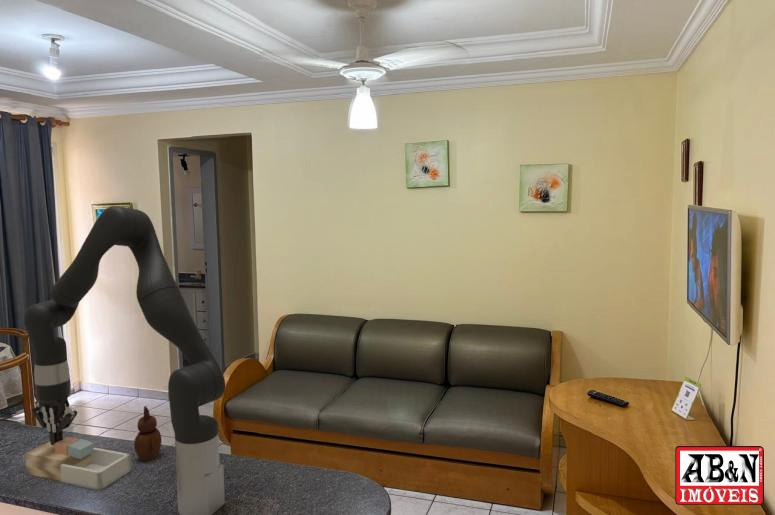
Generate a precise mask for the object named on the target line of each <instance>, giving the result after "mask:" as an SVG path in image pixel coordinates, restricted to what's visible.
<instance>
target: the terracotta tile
mask: <svg viewBox="0 0 775 515" xmlns="http://www.w3.org/2000/svg"><path fill="white" fill-rule="evenodd" d="M80 439H81V438H76V437H75V438H74V437H70V436H67V437H65V438H63V440H61V441H59V442H57V443H55V444H54V448H55V453H57V454H62V455H68V445H70V444H72V443H74V442H76V441H78V440H80Z"/></svg>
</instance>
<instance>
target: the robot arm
mask: <svg viewBox="0 0 775 515" xmlns="http://www.w3.org/2000/svg"><path fill="white" fill-rule="evenodd" d="M114 246H121V247H122V246H123V247H128V248H129V250H130V251H131V253H132V255H133V257H134V259H135V261H136V263H137V268H138V277H137V283H136V293H135V294H136V298H137V303H138V305H139V307H140V309H141V312H142V314H143V316H144V319H145V320H146V322H147V324H148V325H149V326H150V327H151V328H152V329H153V330H155V332H157V333H158V334H159V335H160V336H162V337H163V338H165V339H167V341H169V342H170V343H172V344H173V345H174V346H176V347H177V348H178V350H180V353H182V354H183V356H184V357H185V359H186V361H187V362H188V364H189V365H187V366H183V367H180V368H178V369H174V371H173V372H171V374H170V376H169V378H168V385H167V388H168V389H167V390H168V401H169V409H170V422H171V425H172V428H173V432H174V445H175V446H174V447H175V448H174V449H175V451H174V452H175V469H176V470H175V475H176V489H177V490H176V491H177V492H176V494H177V510H178V514H179V515H213V514H215V513H216V512H217V511H218V510H219V509H220V508H221V507H222V506H224V504H225V477H224V476H225V475H224V464H222V463H220V441H219V439H220V438H219V423H218V420H217V419H216V418H215V417H213V416H210V415H206V414H205V415H204V414H200V410H199V408H200V407H201V406H204V405H206V404H210V403H211V402H214V401H217V400H219V399H221V398H222V397H223V396H224V394H225V392H226V381H225V380H226V378H225V376H224V374H223V371H222V368H221V367H220V365H219V363H218V361H217V359H216V358H215V356H214V355H213V353H212V351H211V349H210V348H209V346H208V344H207V343H206V342H205V340H204V337H203V336H202V334H201V333H200V331H199V329H198V327H197V325H196V323H195V321H194V319H193V317H192V314H191V313H190V311H189V308H188V306H187V303H186V301H185V299H184V296H183V294H182V292H181V291H180V288H179V286H178V284H177V282H176V279H175V278H174V275H173V274H172V272H171V269H170V267H169V264H168V263H167V260H166V258H165V255H164V253H163V251H162V247H161V245H160V242H159V238H158V236H157V232H156V229H155V227H154V224H153V222H152V220H151V219H150V216H148V214H147V213H145V212H144V211H142V210H139V209H137V208H131V207H125V206H119V205H111V206H109V207H107V208H105V209H104V210H103V211H102V212H101V213H100V214H99V216H98V217H97V219H96V220H95V222H94V224H93V226H92V227H91V229H90V231H89V232H88V235H87V236H86V238H85V240H84V242H83V243H82V245H81V247H80V249H79V251H78V252H77V254H76V256H75V257H74V259H73V261H72V262H71V264H70V265H69V266H68V268H67V269H66V270H65V271H64V272H63V273H62V275H61V276H60V277H59V278H58V279H57V281H56V282H55V283H54V285H52V287H51V290H50V296H51V299H50V300H47V301H43V302H39V303H34V304H32V305H30V306H29V307H28V308H27V309H26V311H25V313H24V316H23V317H24V318H23V322H24V328H25V329H26V330H25V331H26V333H27V335H28V338H29V341H30V342H31V345H32V347H33V355H34V357H33V358H34V372H33V374H34V388H35V390H34V391H35V399H36V401H38V405H37V406H35V407H33V408H31V412H32V413H33V415H34V417H35V419H36V420H37V421H38V423H39V425H40V426H41V428H42V429H46V430H47V432H48V434H49V436H48V437H49V441H50V443H51V445H53V446H54V444H55V443H57V442H59V441H61V440H63V439H64V436H63V434H64V433H63V431H64V430H65V429H68V428H69V427H70V426H71V424H72V423H73V422H74V420H75V418H76V417H77V415H78V411H77V410H72V409H71V408H70V402H69V400H68V398H69V396H70V395H71V380H70V377H71V376H70V368H69V367H70V366H69V363H68V348H67V341H66V340H65V338H63V337H60V336H55V335H54V334H53V333H54V332H53V329H57V328H59V327H62V326H64V325H67V323H68V322H69V321H70V320H71V319H72V318H73V317H74V315H75V313H76V311H77V309H78V307H79V304H80V302H81V301H82V300H83V299H84V297H85V296H86V295H87V294H89V291H90V290H92V288H93V287H94V285H95V284H96V282H97V280H98V277H99V276H98V275H99V269H100V268H99V267H100V262H101V260H102V258H103V257H104V255H105V254H106V253H107V252H108V251H109V250H111V249H112V248H113V247H114Z"/></svg>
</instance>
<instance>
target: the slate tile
mask: <svg viewBox="0 0 775 515" xmlns="http://www.w3.org/2000/svg"><path fill="white" fill-rule="evenodd" d="M79 439H80V440H78V441H76V442H74V443H72V444H70V445H68V455H70V456H72V457H75V458H78V459H81V458H83V457H85V456H87V455H88V454H90V453H92V452H93V447H94V442H92V441H89V440H86V439H83V438H79Z"/></svg>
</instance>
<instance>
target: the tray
mask: <svg viewBox="0 0 775 515" xmlns="http://www.w3.org/2000/svg"><path fill="white" fill-rule="evenodd" d="M91 459H92V463H91V464H90V465H88V466H86V467H84V468H82V467H77V466H72V465H66V464H62V465H60V469H61V481H60V482H61V483H62V484H66V485H71V486H76V487H80V488H85V489H89V490H93V491H98V492H101V491H103V490H104V489H106V488H107V487H108V486H110V485H112V484H113V483H115V482H116V481H117V480H120V479H121V478H122V476H123V477H124V476H125V475H128V474H129V473H130V472H132V458H131V454H130V453H125V452H120V451H115V450H110V449H105V448H98V447H94V446H93V452H92V453H91Z"/></svg>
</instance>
